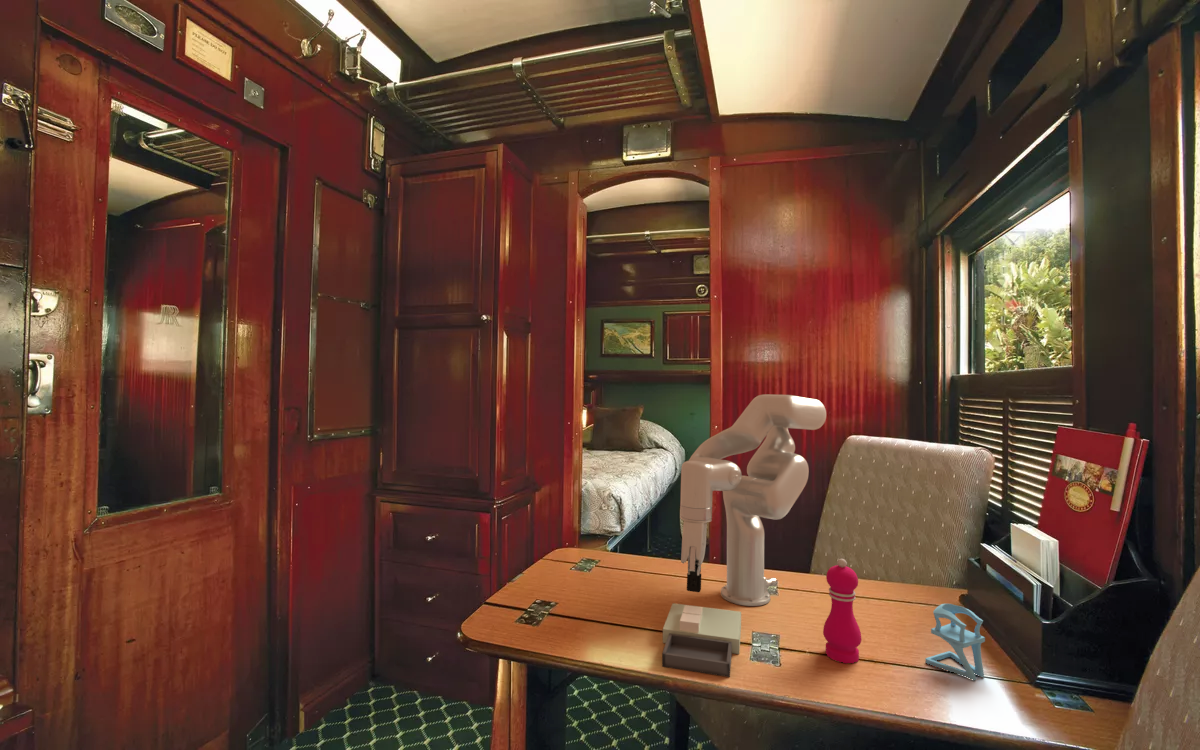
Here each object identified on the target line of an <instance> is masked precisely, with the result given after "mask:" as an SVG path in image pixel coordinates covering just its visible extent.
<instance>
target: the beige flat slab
mask: <svg viewBox="0 0 1200 750" xmlns="http://www.w3.org/2000/svg"><path fill="white" fill-rule="evenodd" d="M685 605H686V604H681V603H673V602H672V604H671V606H670V609H669V612H668V614H667V618H666V619H665V622H664V625H663V628H662V643H663V644H666V642H667V639H668V636H669V633H671V634H678V635H685V636H692V637H699V638H706V639H713V640H721V641H728V642H732V654H737V655H740V652H741V651H740V650H741V635H742V634H741V632H742V611H738V610H737V611H736V610H729V609H721V608H714V607H705V606H702V607H703V616H702V620H701V625H700V629H699V633H696V632H689V631H682V630H680V619H681V616H682V613H683V610H684V607H685ZM687 605H688V606H692V605H690V604H687ZM695 606H696V607H700V606H699V605H698V606H697V605H695Z"/></svg>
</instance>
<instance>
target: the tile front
mask: <svg viewBox="0 0 1200 750" xmlns="http://www.w3.org/2000/svg"><path fill="white" fill-rule="evenodd" d="M700 625H701V616H700V615H693V614H685V613H682V616H681V619H680V630H682V631H689V632H696V633H699V629H700Z"/></svg>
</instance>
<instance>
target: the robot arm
mask: <svg viewBox="0 0 1200 750" xmlns="http://www.w3.org/2000/svg"><path fill="white" fill-rule="evenodd" d="M826 419H827V410H826V408H825V405H824V404H823V402H821V401H820V400H819V399H816V398H811V397H810V398H809V397H803V396H798V395H794V394H793V395H792V394H768V393H767V394H759V395H757V396H756V397H754V398H753V399H752V400H751V401H750V403H749V404H748V405H747V406H746V408H745V409H744V410H743V411H742V413H741V414H740V415H739V416H738V418H737V419H736V421H735V422H734V423H733V424H732V426H730V427H728V428H726V429H724V430H721V431H720V432H718V433H717V434H715V435H713V436H711V437H709V438H708V439H706V440H704V441H703V442H702V443H701V444H700V445H698V447H697V448H696V450H695V451H694V452H693V453H692V455H690V458H689V459H688V460H686V461H684V462H683V463H682V464H681V469H680V470H681V473H680V506H679V507H680V508H679V519H680V520H682V521H683V525H682V536H681V537H682V538H681V551H680V552H681V556H680V562H681V563H682V564H685V563H686V562H687V573H686V591H688V592H693V593H701V590H702V573H701V572H702V571H701V570H702V564H703V562H704V558H705V554H706V546H707V530H708V529H707V527H708V525H707V523H710V522H712V521H713V520H712V518H713V492H714V491H717V492H718V491H719V492H721V491H722V497H723V498H722V499H723V503H724V508H725V515H726V584H725V585H724V586H723V587H721V589H720V596H721V597H722V599H724V600H725V601H727V602H730V603H732V604H735V605H738V606H739V605H740V606H744V607H745V606H746V607H759V606H763V605H766V604H769V603H770V601H771V594H770V592H769V591H768V588H769V587H773V586H776V585H777V583H778V582H777V579H776V578H775V577H769V578H766V577H765V528H764V525H763V522H762V520H761V518H764V519H770V520H781V519H783V518H784V517H786V515H788V513H790V511H791V508H792V507H793V506H794V504H796V501H797V500H798V499H799V497H800V495H801V494H802V492H803V490H804V488H805V487H806V485H807V483H808V480H809V473H810V472H809V470H810V469H809V463H808V462H807V460H806V458H804V457H803V456H802V455H800V454H797V453H795V451H796V444H795V441H794V439H793V437H792V435H791V434H790V432H789V429H797V430H808V431H810V430H811V431H815V430H818V429H821V427H822V426H823V425H824V424H825V423H826ZM758 447H759V448H758ZM756 449H757V450H756ZM753 450H756V451H755V452H754V454H753V455H752V457H751V458H750V460H749V462H748V464H747V467H746V473H747V475H748V476H747V475H742V470H741V468H740V467H739V466H738V464H736V463H735V462H734V461H730V460H728V459H727V460H726V459H725V458H727V457H730V456H733V455H734V456H735V455H740V454H743V453H748V452H751V451H753Z"/></svg>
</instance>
